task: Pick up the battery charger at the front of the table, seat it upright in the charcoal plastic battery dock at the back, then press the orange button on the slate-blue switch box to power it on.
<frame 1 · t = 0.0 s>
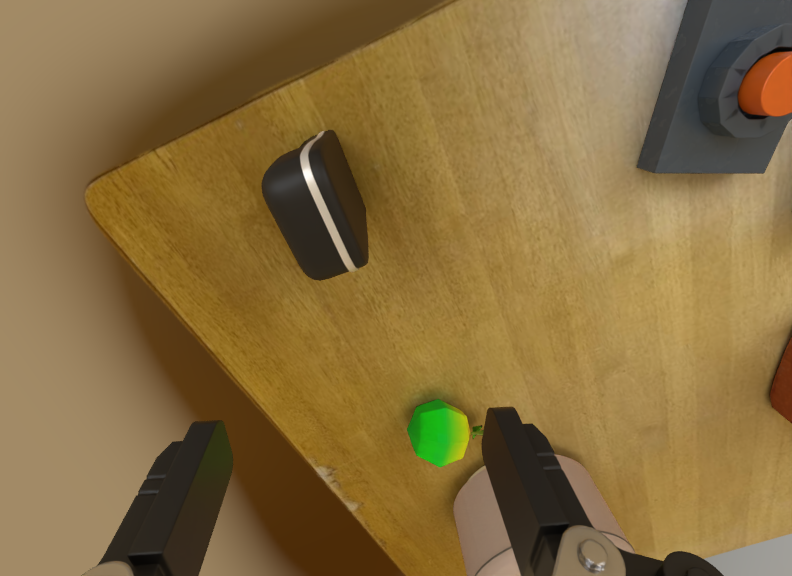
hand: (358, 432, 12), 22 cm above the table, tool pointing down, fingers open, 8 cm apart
switch box: (719, 84, 28), on the table
apple: (444, 409, 42), on the table
battery charger: (328, 179, 29), on the table
power button: (778, 84, 24), point 4 cm above the table, slide at 0.1 cm
container: (517, 488, 50), on the table
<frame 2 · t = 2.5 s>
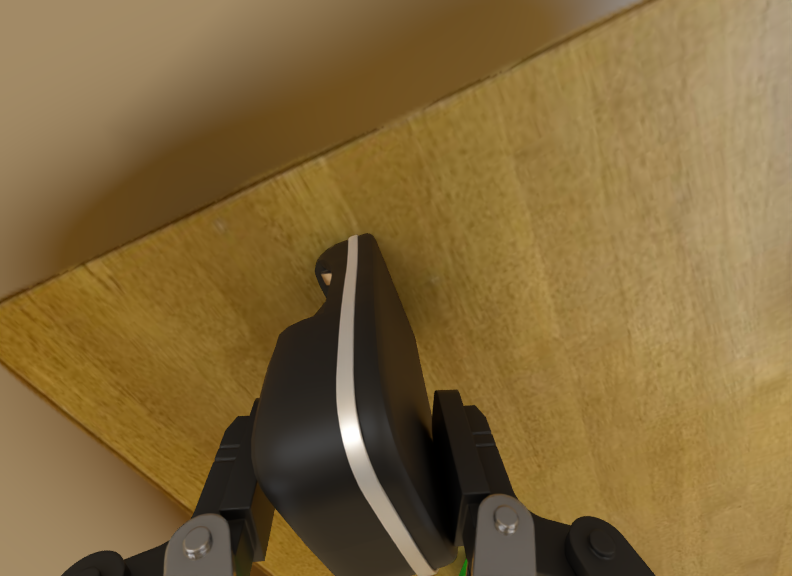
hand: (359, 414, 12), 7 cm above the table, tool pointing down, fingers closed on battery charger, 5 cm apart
battery charger: (359, 297, 19), on the table, touching gripper
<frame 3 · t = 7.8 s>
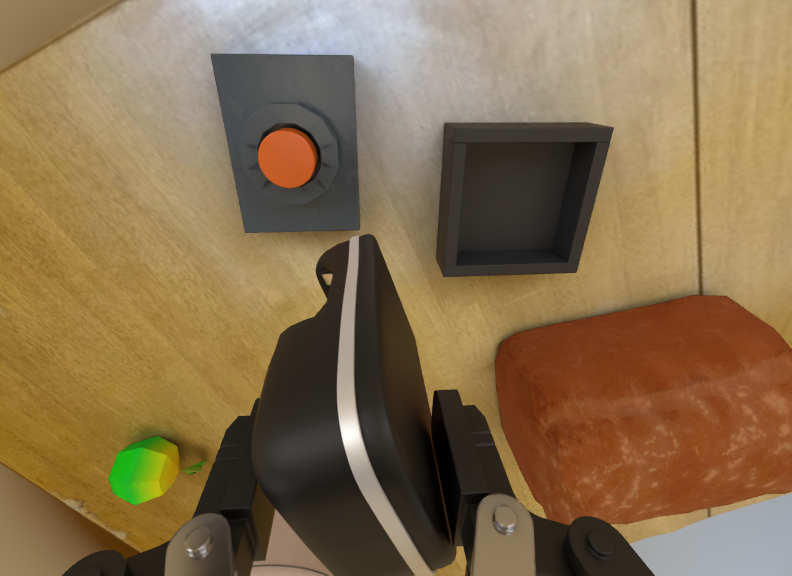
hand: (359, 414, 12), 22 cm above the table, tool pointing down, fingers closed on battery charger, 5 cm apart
switch box: (298, 147, 29), on the table
apple: (170, 444, 43), on the table
dock: (506, 195, 32), on the table
battery charger: (360, 297, 19), point 15 cm above the table, touching gripper
power button: (288, 158, 25), point 4 cm above the table, slide at 0.1 cm
container: (286, 515, 51), on the table
bread: (600, 368, 43), on the table
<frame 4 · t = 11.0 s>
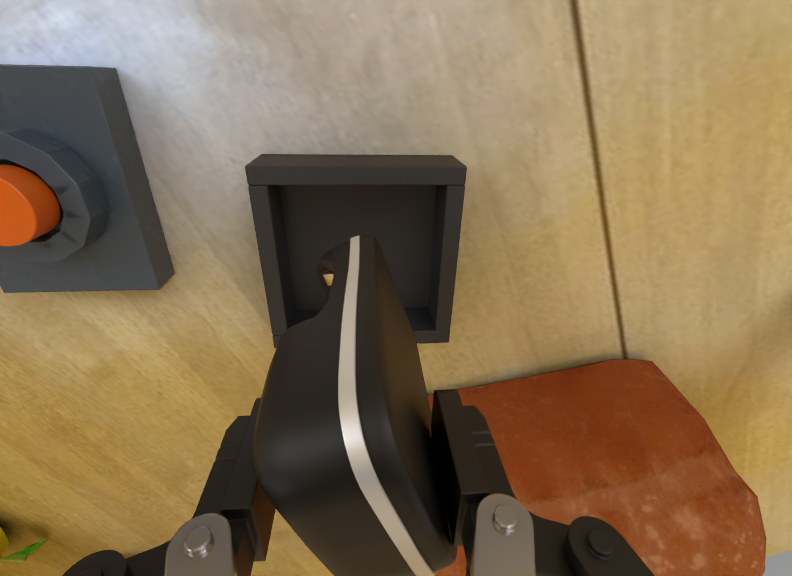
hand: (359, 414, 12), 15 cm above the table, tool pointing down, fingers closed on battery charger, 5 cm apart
switch box: (69, 183, 22), on the table
dock: (361, 244, 26), on the table
battery charger: (360, 298, 19), point 7 cm above the table, touching gripper
power button: (6, 205, 18), point 4 cm above the table, slide at 0.1 cm
bread: (513, 437, 36), on the table
when the fingers open (8 cm above the table, at t = 13.4 s): battery charger stays where it is, resting on dock.
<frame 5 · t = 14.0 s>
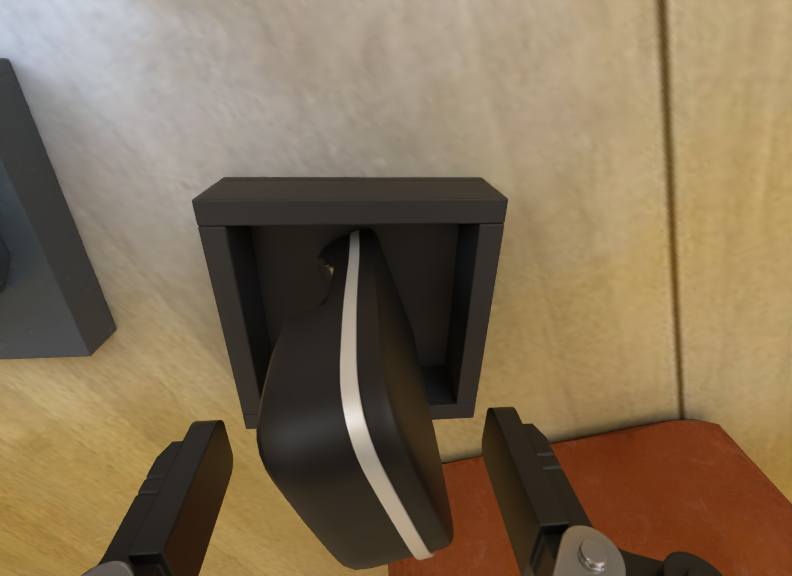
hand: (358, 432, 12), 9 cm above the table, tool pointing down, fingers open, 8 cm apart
dock: (359, 290, 20), on the table
battery charger: (359, 292, 19), resting on dock
bread: (541, 503, 31), on the table
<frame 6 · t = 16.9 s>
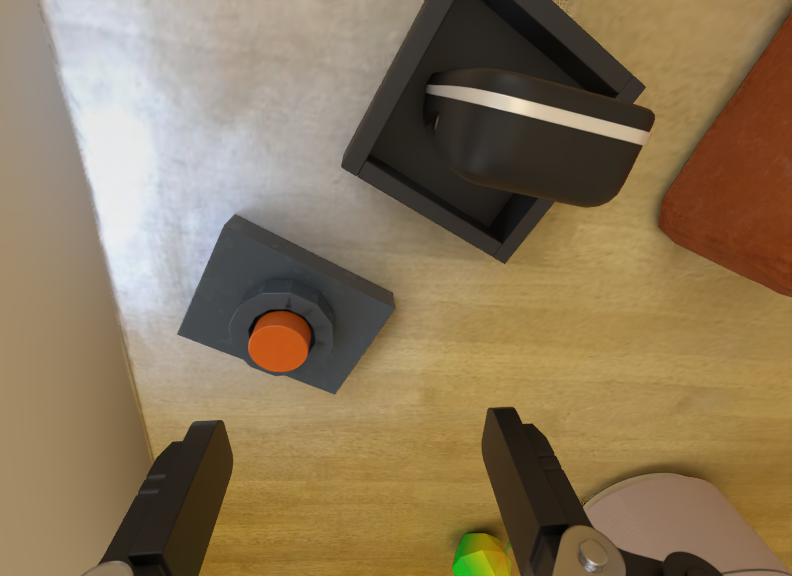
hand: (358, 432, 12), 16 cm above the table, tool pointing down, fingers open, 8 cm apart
switch box: (292, 304, 28), on the table
apple: (481, 531, 45), on the table
dock: (473, 121, 23), on the table
battery charger: (473, 120, 23), resting on dock
power button: (280, 341, 24), point 4 cm above the table, slide at 0.1 cm
container: (634, 511, 45), on the table
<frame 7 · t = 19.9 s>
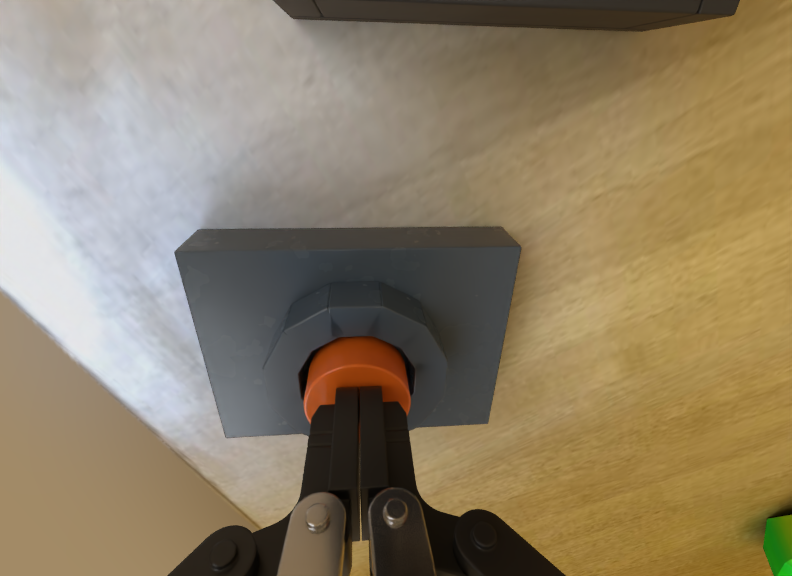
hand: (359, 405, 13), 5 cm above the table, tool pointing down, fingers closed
switch box: (358, 322, 17), on the table
apple: (791, 508, 29), on the table
power button: (357, 389, 14), point 4 cm above the table, slide at -0.1 cm, touching gripper
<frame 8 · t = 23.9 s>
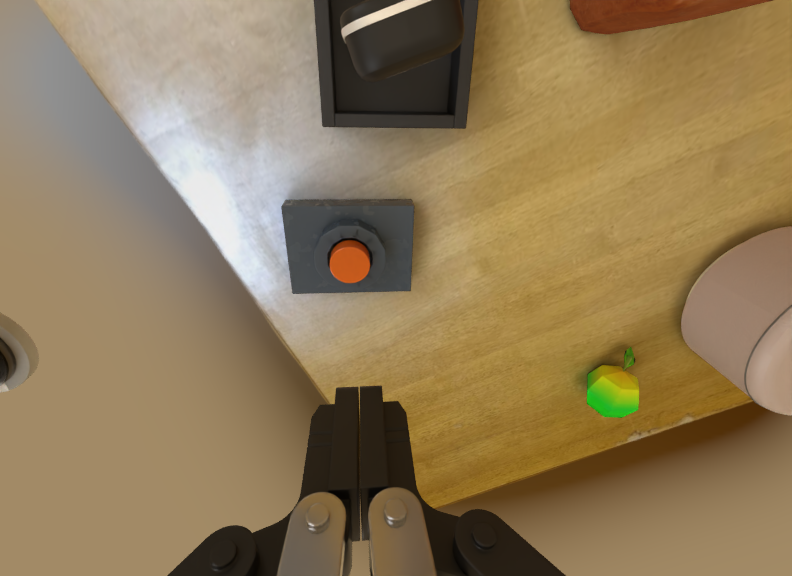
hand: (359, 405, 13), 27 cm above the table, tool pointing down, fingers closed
switch box: (351, 243, 39), on the table
apple: (601, 367, 50), on the table
dock: (393, 46, 31), on the table
battery charger: (392, 45, 30), resting on dock
power button: (350, 261, 35), point 4 cm above the table, slide at 0.1 cm
container: (745, 291, 46), on the table
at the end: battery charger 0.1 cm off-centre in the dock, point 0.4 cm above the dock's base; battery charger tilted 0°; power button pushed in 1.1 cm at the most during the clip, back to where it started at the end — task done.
